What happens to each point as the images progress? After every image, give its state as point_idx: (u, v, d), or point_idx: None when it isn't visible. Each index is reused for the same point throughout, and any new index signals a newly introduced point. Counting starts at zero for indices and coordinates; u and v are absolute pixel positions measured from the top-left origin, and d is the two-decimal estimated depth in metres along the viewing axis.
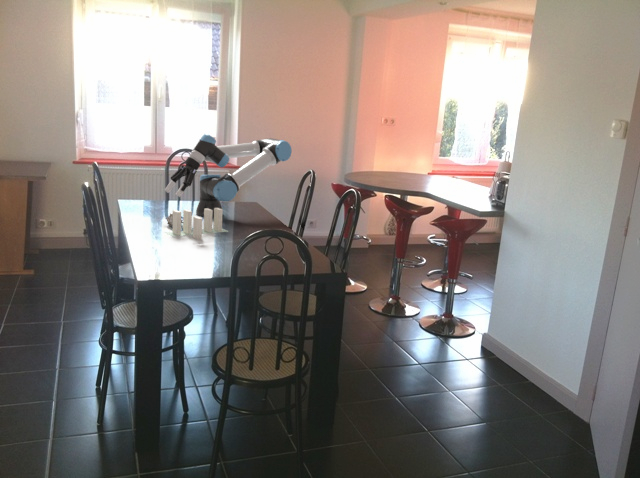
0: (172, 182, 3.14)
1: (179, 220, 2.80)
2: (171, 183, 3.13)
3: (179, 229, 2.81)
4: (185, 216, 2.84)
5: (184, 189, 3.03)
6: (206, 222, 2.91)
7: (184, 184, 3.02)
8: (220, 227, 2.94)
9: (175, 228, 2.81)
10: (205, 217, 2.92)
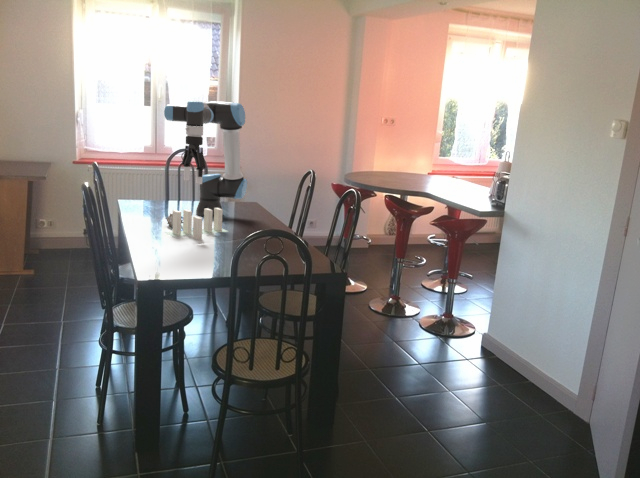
0: (186, 168, 2.77)
1: (179, 220, 2.80)
2: (186, 170, 2.77)
3: (179, 229, 2.81)
4: (185, 216, 2.84)
5: (201, 174, 2.66)
6: (206, 222, 2.91)
7: (198, 169, 2.65)
8: (220, 227, 2.94)
9: (175, 228, 2.81)
10: (205, 217, 2.92)
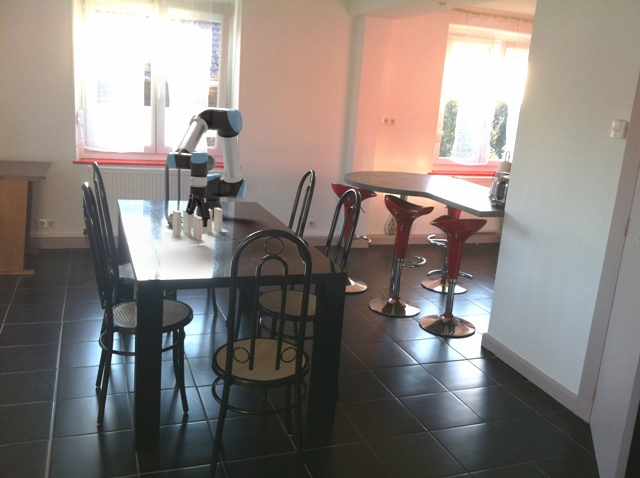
0: (190, 216, 2.79)
1: (179, 220, 2.80)
2: (190, 218, 2.79)
3: (179, 229, 2.81)
4: (185, 216, 2.84)
5: (206, 224, 2.69)
6: None
7: (203, 220, 2.68)
8: (220, 227, 2.94)
9: (175, 228, 2.81)
10: None
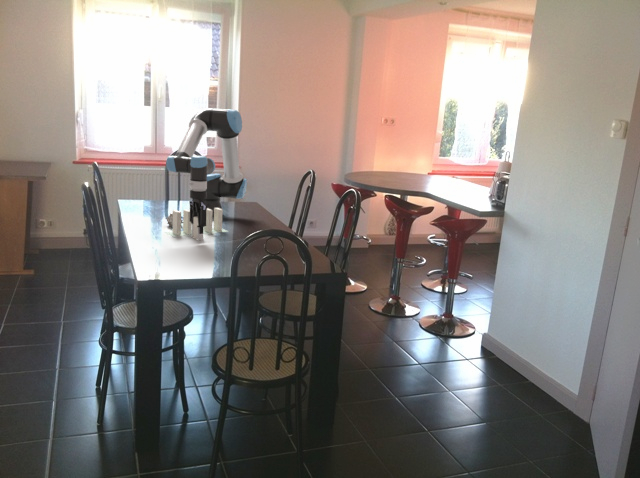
0: None
1: (179, 220, 2.80)
2: None
3: (179, 229, 2.81)
4: (185, 216, 2.84)
5: (202, 231, 2.73)
6: (206, 222, 2.91)
7: (199, 227, 2.72)
8: (220, 227, 2.94)
9: (175, 228, 2.81)
10: None
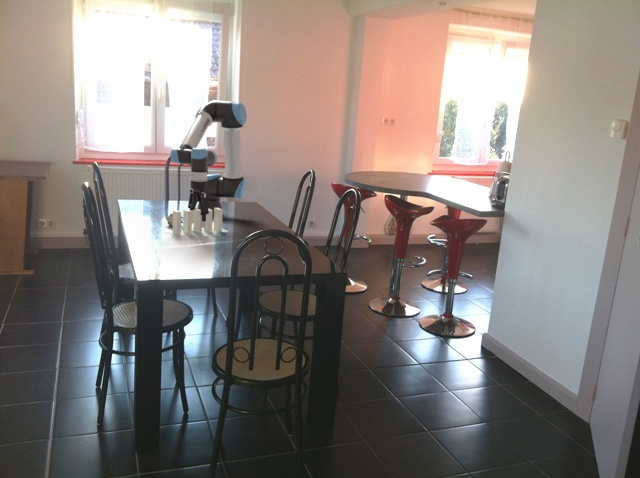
0: (192, 212, 2.92)
1: (179, 220, 2.80)
2: (192, 213, 2.92)
3: (179, 229, 2.81)
4: (185, 216, 2.84)
5: (205, 219, 2.83)
6: (206, 222, 2.91)
7: (202, 214, 2.82)
8: (220, 227, 2.94)
9: (175, 228, 2.81)
10: None
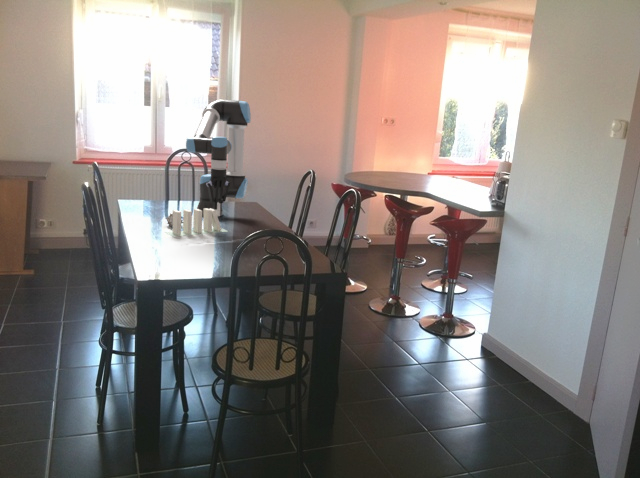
0: None
1: (179, 220, 2.80)
2: None
3: (179, 229, 2.81)
4: (185, 216, 2.84)
5: (214, 207, 2.92)
6: (206, 222, 2.91)
7: None
8: (219, 227, 2.94)
9: (175, 228, 2.81)
10: (205, 217, 2.92)
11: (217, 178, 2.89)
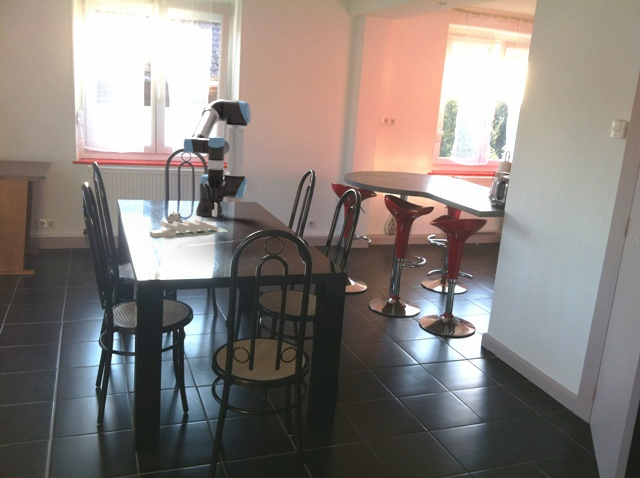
0: None
1: (162, 233, 2.76)
2: None
3: (171, 232, 2.79)
4: None
5: (211, 207, 2.91)
6: None
7: (211, 202, 2.92)
8: (215, 228, 2.93)
9: None
10: None
11: (214, 178, 2.88)
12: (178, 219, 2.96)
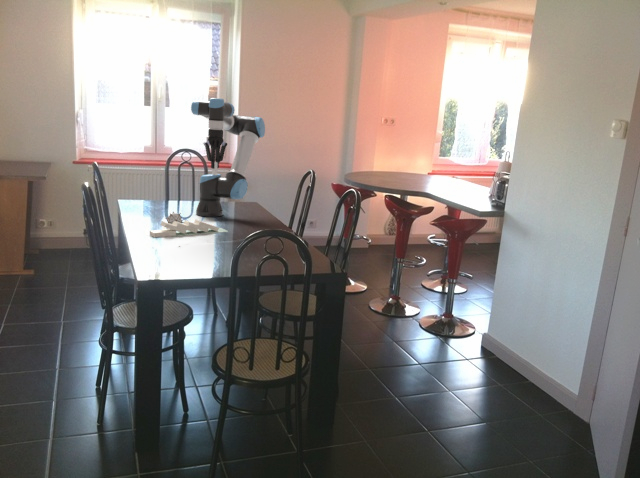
0: None
1: (162, 233, 2.76)
2: None
3: (171, 232, 2.79)
4: None
5: (212, 166, 3.06)
6: None
7: None
8: (215, 228, 2.93)
9: None
10: None
11: (214, 138, 3.03)
12: (178, 219, 2.96)
